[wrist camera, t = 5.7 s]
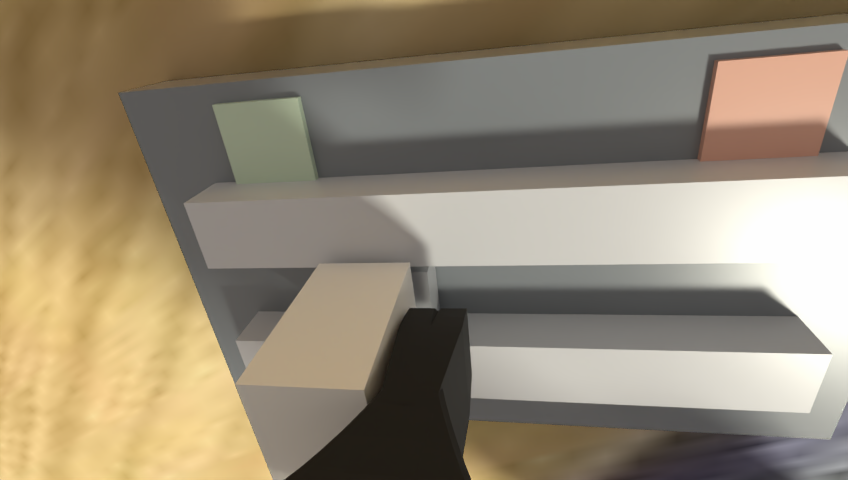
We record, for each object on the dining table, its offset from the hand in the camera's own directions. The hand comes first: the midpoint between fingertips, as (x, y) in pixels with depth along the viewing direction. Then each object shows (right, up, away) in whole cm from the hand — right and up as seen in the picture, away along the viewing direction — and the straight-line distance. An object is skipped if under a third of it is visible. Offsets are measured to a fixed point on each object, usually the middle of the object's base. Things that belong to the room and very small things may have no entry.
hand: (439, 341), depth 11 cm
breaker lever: (-1, +1, +3) cm, 3 cm away
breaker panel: (+2, +2, +4) cm, 5 cm away
